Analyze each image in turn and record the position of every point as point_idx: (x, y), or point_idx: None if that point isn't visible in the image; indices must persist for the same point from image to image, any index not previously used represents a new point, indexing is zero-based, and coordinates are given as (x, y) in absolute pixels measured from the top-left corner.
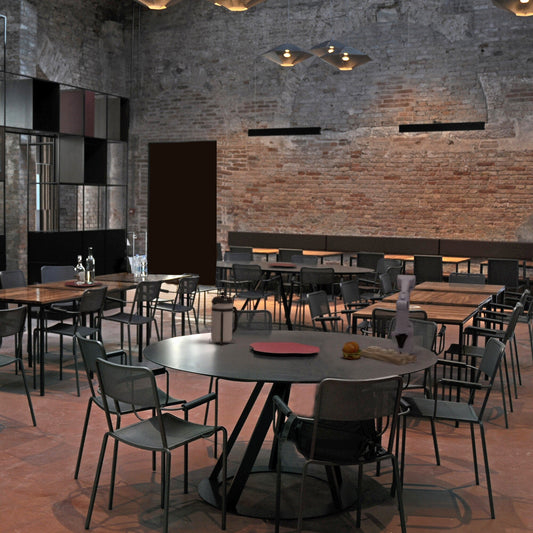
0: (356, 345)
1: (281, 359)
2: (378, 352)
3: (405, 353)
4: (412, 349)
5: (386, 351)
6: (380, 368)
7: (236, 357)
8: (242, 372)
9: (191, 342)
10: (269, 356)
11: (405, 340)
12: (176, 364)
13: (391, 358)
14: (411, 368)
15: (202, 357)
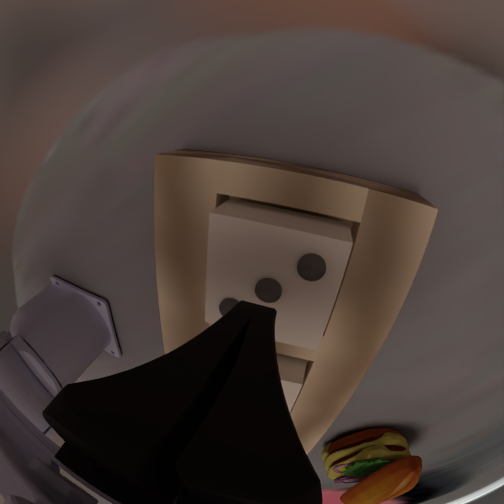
0: (388, 489)
1: (465, 476)
2: None
3: (257, 233)
4: (48, 294)
5: (298, 393)
6: None
7: (463, 491)
8: None
9: None
10: (440, 491)
11: (163, 361)
12: None
13: (400, 300)
14: (455, 61)
15: (473, 494)
